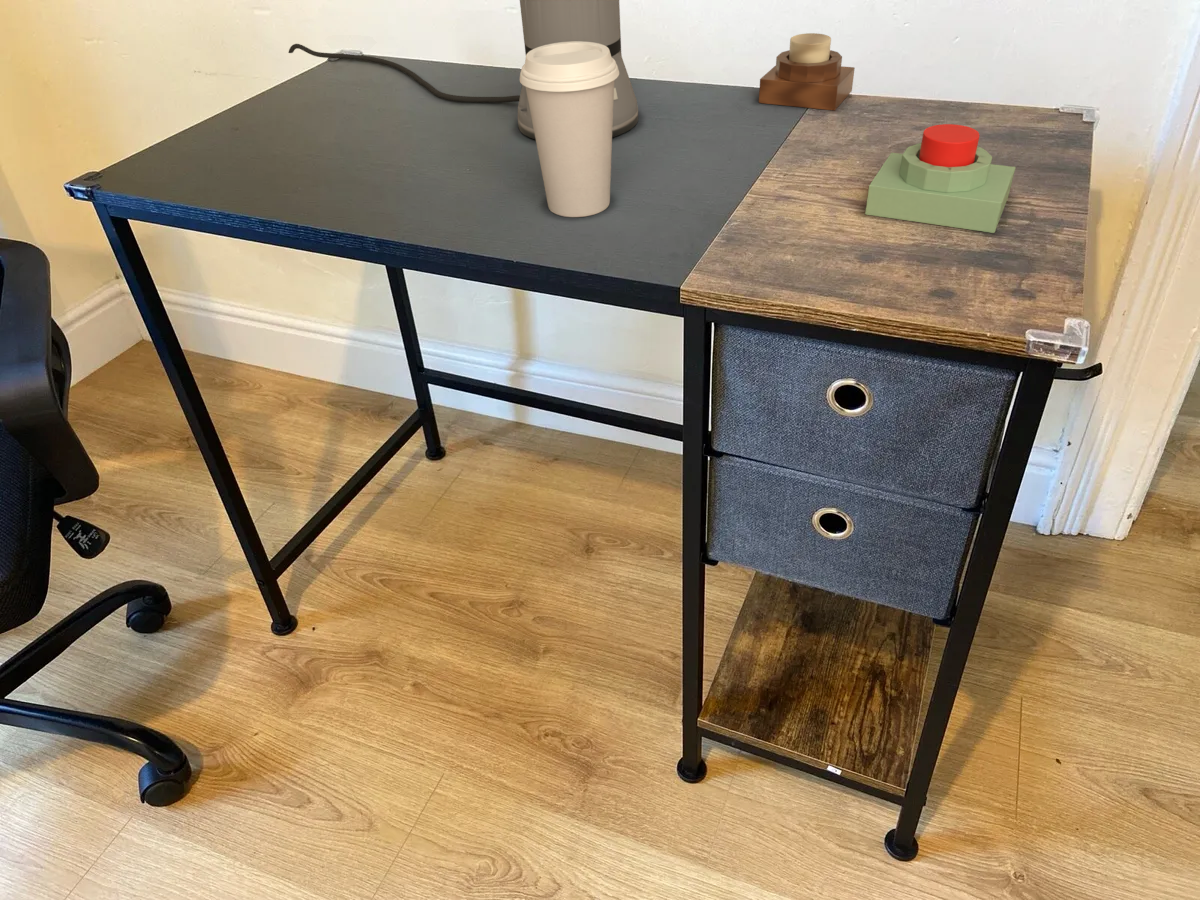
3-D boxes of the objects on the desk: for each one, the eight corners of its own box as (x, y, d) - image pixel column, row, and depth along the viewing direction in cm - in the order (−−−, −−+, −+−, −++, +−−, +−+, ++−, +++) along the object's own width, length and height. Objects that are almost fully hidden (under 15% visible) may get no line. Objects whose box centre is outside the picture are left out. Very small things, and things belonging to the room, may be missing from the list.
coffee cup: (627, 185, 95) (622, 37, 86) (620, 223, 88) (613, 66, 78) (541, 186, 96) (526, 40, 87) (526, 224, 89) (508, 69, 79)
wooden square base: (758, 103, 113) (760, 62, 110) (778, 84, 119) (781, 45, 116) (834, 110, 110) (839, 68, 106) (851, 91, 115) (856, 50, 112)
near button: (913, 165, 83) (918, 139, 82) (924, 147, 87) (929, 121, 85) (969, 172, 81) (974, 145, 80) (978, 153, 85) (983, 127, 83)
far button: (783, 63, 111) (785, 42, 109) (795, 53, 114) (797, 32, 112) (822, 67, 109) (824, 45, 107) (833, 55, 112) (835, 34, 110)
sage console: (864, 214, 86) (871, 164, 83) (886, 180, 92) (894, 132, 89) (994, 233, 81) (1007, 181, 78) (1008, 196, 87) (1020, 146, 84)
